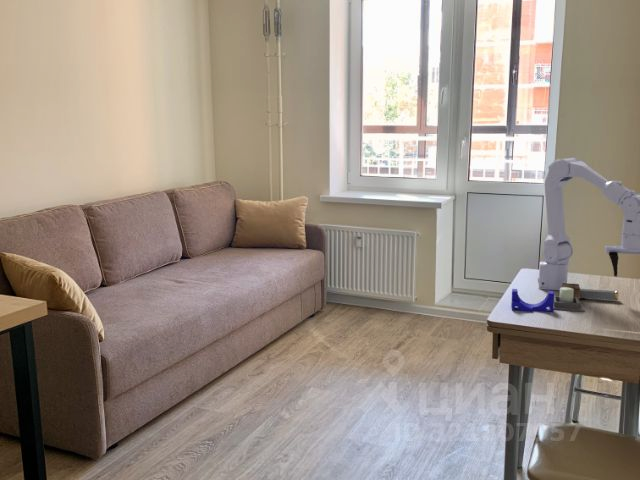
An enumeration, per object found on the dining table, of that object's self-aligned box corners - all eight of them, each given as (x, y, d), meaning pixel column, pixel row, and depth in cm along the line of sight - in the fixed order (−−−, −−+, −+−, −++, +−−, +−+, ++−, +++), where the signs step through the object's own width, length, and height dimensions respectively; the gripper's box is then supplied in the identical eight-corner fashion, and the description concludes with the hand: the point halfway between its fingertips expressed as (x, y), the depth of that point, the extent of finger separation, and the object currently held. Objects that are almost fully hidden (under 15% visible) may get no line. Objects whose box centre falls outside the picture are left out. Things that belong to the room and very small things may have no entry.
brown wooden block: (562, 300, 214) (563, 287, 214) (561, 294, 220) (562, 283, 220) (579, 301, 213) (580, 289, 212) (577, 295, 219) (578, 284, 218)
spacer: (559, 306, 206) (560, 290, 205) (558, 302, 210) (559, 287, 209) (573, 306, 205) (574, 291, 204) (571, 303, 209) (572, 287, 208)
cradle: (549, 309, 205) (549, 302, 204) (548, 300, 214) (548, 294, 214) (584, 311, 202) (584, 305, 201) (581, 302, 211) (582, 296, 211)
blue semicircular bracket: (511, 311, 203) (512, 292, 202) (511, 307, 207) (512, 288, 206) (553, 314, 200) (554, 295, 199) (552, 310, 204) (553, 291, 203)
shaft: (571, 298, 215) (572, 289, 215) (570, 295, 218) (571, 286, 217) (617, 301, 211) (618, 292, 211) (616, 299, 214) (617, 289, 214)
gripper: (608, 234, 205) (605, 278, 208) (660, 237, 201) (656, 281, 204) (605, 231, 212) (602, 272, 214) (656, 233, 208) (652, 275, 210)
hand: (628, 276), depth 210 cm, fingers open, 7 cm apart
